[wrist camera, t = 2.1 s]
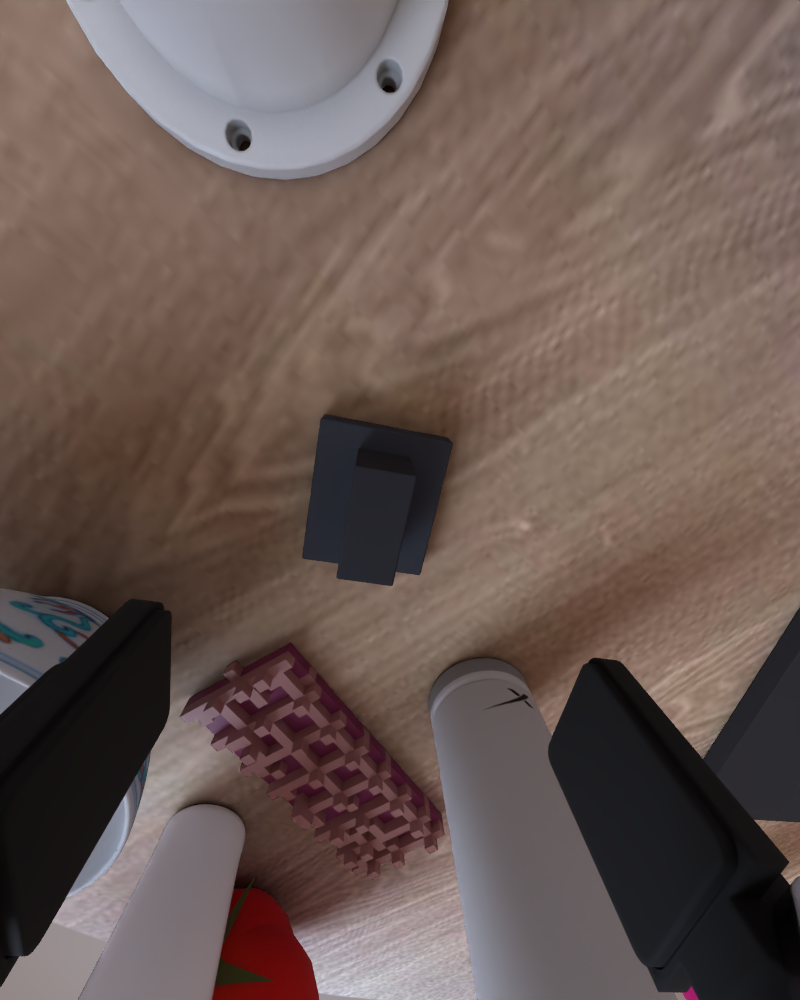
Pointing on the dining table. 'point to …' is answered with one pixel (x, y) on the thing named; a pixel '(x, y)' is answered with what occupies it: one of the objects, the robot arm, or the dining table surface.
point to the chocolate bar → (317, 760)
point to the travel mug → (523, 851)
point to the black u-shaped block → (766, 738)
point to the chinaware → (26, 657)
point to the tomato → (262, 953)
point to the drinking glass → (175, 913)
